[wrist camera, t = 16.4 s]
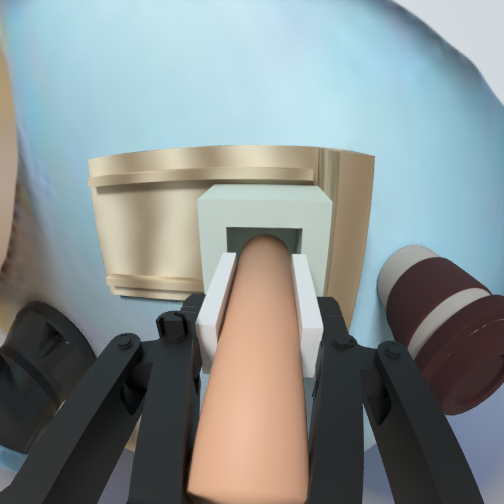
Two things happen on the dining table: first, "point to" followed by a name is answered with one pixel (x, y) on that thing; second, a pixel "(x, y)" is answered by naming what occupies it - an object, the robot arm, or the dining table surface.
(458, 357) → the coffee cup
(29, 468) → the robot arm
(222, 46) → the dining table surface
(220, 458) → the dowel
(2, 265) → the dining table surface
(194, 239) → the board
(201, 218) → the block
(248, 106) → the dining table surface
